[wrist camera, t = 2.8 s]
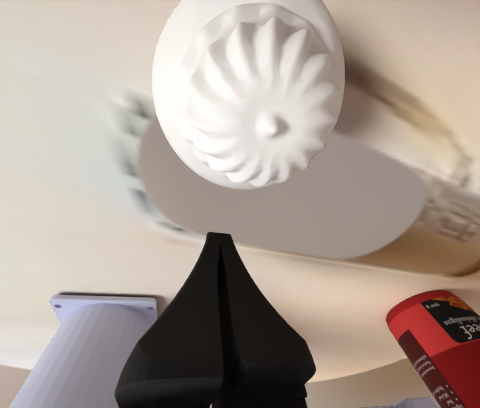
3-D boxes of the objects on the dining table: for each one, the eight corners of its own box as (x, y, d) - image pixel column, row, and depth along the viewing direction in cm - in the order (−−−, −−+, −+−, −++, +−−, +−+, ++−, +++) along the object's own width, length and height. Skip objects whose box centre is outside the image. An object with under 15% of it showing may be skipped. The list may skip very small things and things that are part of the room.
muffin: (281, 164, 12) (344, 254, 6) (173, 148, 11) (119, 239, 5) (324, 28, 8) (561, -73, 3) (175, -15, 7) (11, -353, 2)
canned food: (467, 295, 23) (636, 446, 14) (408, 329, 26) (510, 465, 17) (428, 281, 20) (602, 452, 11) (369, 320, 24) (464, 474, 15)
